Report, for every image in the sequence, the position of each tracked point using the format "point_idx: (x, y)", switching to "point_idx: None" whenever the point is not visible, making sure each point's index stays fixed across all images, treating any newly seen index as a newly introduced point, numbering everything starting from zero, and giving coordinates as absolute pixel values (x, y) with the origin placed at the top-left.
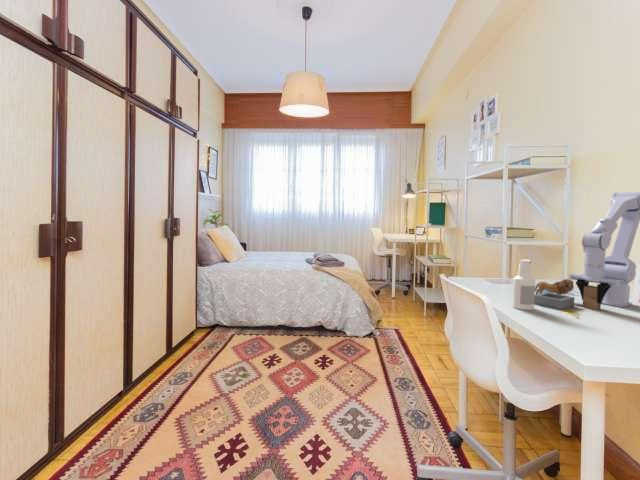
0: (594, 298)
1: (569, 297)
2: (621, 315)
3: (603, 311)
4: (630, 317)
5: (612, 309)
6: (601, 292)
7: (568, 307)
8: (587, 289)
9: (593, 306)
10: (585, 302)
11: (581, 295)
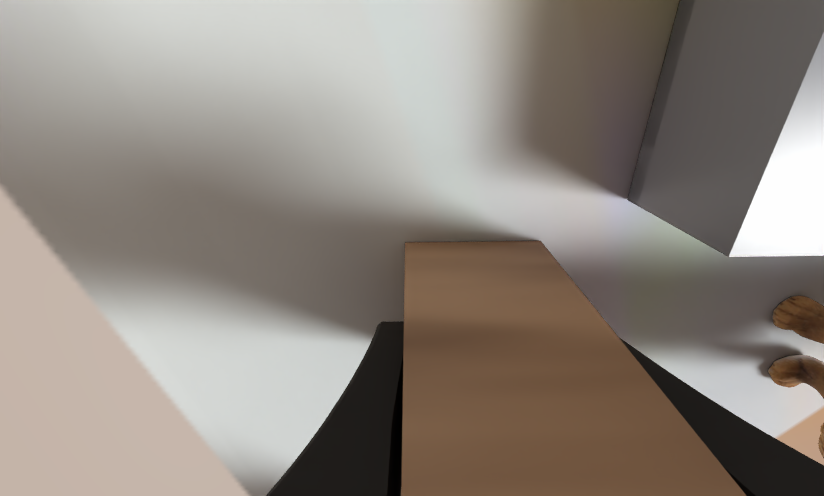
0: (435, 334)
1: (820, 152)
2: (159, 240)
3: (334, 253)
4: (74, 234)
5: (333, 397)
6: (304, 481)
7: (682, 11)
8: (644, 492)
9: (432, 258)
10: (536, 276)
11: (649, 361)
